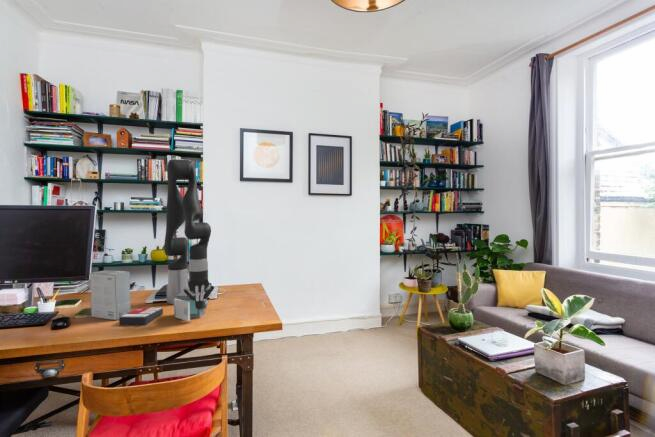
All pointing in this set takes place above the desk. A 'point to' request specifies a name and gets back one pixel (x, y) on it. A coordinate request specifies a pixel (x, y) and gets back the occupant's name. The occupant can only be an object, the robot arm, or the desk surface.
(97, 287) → the hard drive box
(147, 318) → the calculator
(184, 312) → the side door
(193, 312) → the camera body
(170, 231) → the robot arm
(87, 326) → the desk surface
